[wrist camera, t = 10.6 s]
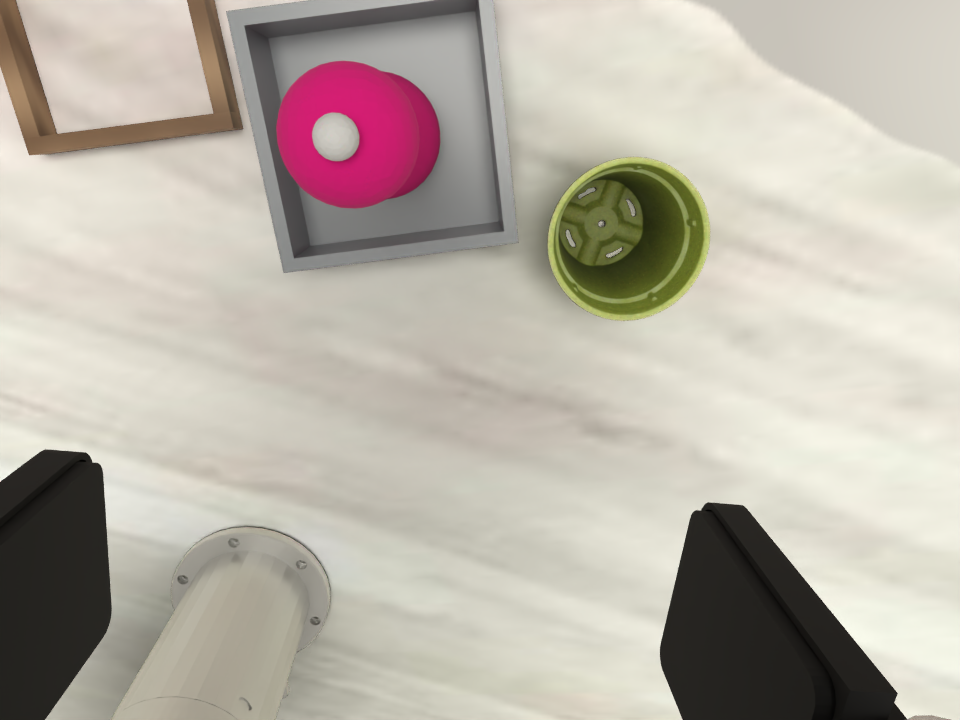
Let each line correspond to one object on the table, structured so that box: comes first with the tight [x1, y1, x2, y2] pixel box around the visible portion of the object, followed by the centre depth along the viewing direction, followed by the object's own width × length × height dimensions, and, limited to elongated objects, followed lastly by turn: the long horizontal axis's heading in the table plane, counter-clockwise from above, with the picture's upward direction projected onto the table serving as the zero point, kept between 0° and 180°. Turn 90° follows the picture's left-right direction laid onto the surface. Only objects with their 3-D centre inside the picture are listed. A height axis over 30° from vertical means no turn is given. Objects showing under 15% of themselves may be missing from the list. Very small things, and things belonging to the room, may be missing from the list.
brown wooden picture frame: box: [0, 0, 243, 155], centre depth 41 cm, size 13×13×2 cm
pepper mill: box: [276, 61, 440, 209], centre depth 34 cm, size 7×7×20 cm
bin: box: [226, 0, 519, 273], centre depth 42 cm, size 15×15×6 cm
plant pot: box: [547, 157, 710, 321], centre depth 43 cm, size 9×9×9 cm
